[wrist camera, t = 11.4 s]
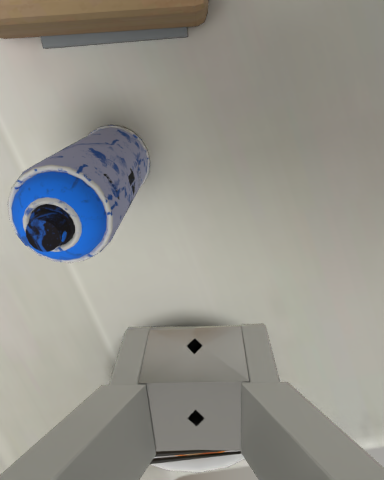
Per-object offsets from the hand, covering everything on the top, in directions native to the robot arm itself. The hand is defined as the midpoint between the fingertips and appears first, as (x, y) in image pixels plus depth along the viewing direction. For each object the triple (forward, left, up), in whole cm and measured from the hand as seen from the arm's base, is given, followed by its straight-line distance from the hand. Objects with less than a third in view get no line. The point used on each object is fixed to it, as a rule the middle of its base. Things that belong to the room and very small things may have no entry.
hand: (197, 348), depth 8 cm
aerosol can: (+10, +3, -33) cm, 35 cm away
